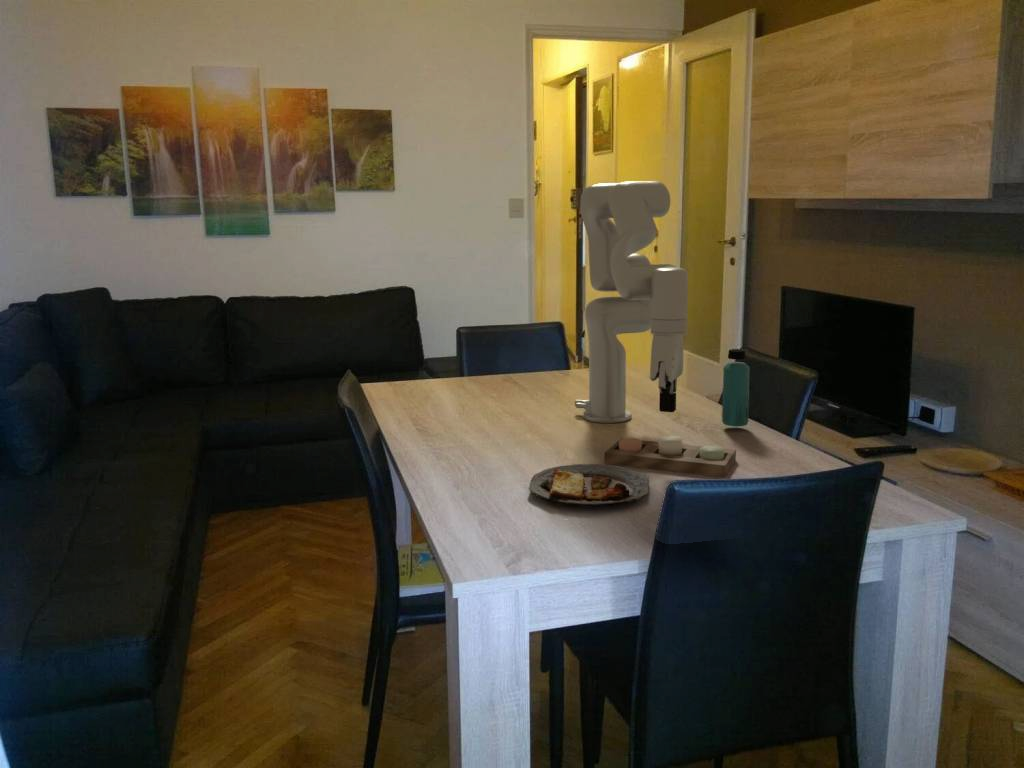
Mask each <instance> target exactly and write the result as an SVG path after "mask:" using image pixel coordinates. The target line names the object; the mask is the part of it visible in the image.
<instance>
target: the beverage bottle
mask: <svg viewBox="0 0 1024 768" xmlns="http://www.w3.org/2000/svg"><path fill="white" fill-rule="evenodd" d="M727 358H728V359H729V360H745V359H746V350H745V349H741V348H731V349H729V350H728V355H727ZM722 369H723V373H722V375H723V378H722V379H723V380H722V381H723V382H722V383H723V384H722V399H721V401H722V408H721V421H722V424H723V425H725V426H729V427H745V426H747V425H748V424H749V421H750V420H749V417H750V414H749V411H750V409H749V408H750V406H749V405H750V371H751V370H750V366H749V365H748V364H747V363H745V362H742V361H741V362H740V361H730V362H728V363H726V364H725V365H724V366H723V368H722Z"/></svg>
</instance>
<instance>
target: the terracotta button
mask: <svg viewBox="0 0 1024 768" xmlns="http://www.w3.org/2000/svg"><path fill="white" fill-rule="evenodd" d="M641 440H642V439H639V438H635V437H626V438H624V439H621V438H619V450H626V451H635V452H640V451H641V450H642V441H641Z"/></svg>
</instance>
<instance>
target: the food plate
mask: <svg viewBox="0 0 1024 768" xmlns="http://www.w3.org/2000/svg"><path fill="white" fill-rule="evenodd" d="M585 478H591V480H590V483H591V488H588V487H587V483H586V480H585ZM613 480H614V481H616V482H617V481H618V482H617V483H615V484H614V486H610V487H609V485H610V484H611V482H613ZM619 482H620V483H619ZM649 483H650V477H649V476H648V475H647V474H645V473H641V472H640V471H635V470H634V469H630V468H626V467H622V466H619V465H612V464H602V463H576V464H566V465H559V466H553V467H550V468H549V467H548V468H545V469H543V470H542V471H540V472H537V473H535V474H533V476H532V478H531V480H530V483H529V485H528V489H529V492H530V493H531V494H533V496H537V497H539V498H542V499H544V500H546V501H551V502H555V503H557V504H568V505H569V504H571V505H574V504H575V505H585V506H591V507H593V506H608V505H614V504H627V503H629V502H633V501H639V500H641V499H640V498H641V497H642V498H645V497H646V496H647V495H648V493H649V490H650V489H649V486H650V484H649ZM627 486H628V488H629V489H628V488H627ZM630 489H631V493H630ZM589 490H590V491H589Z"/></svg>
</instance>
